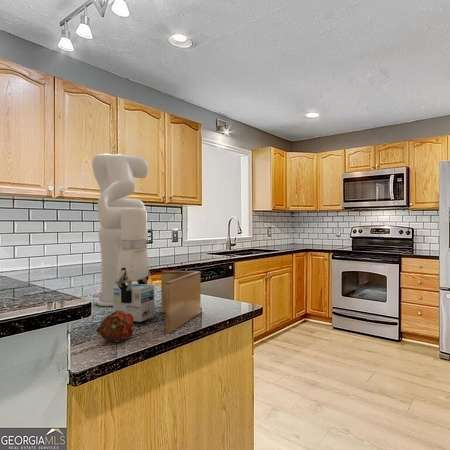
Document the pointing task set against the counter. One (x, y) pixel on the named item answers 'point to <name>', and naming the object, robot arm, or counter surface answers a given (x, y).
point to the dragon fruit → (116, 326)
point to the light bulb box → (136, 301)
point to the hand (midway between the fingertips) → (134, 299)
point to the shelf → (180, 297)
